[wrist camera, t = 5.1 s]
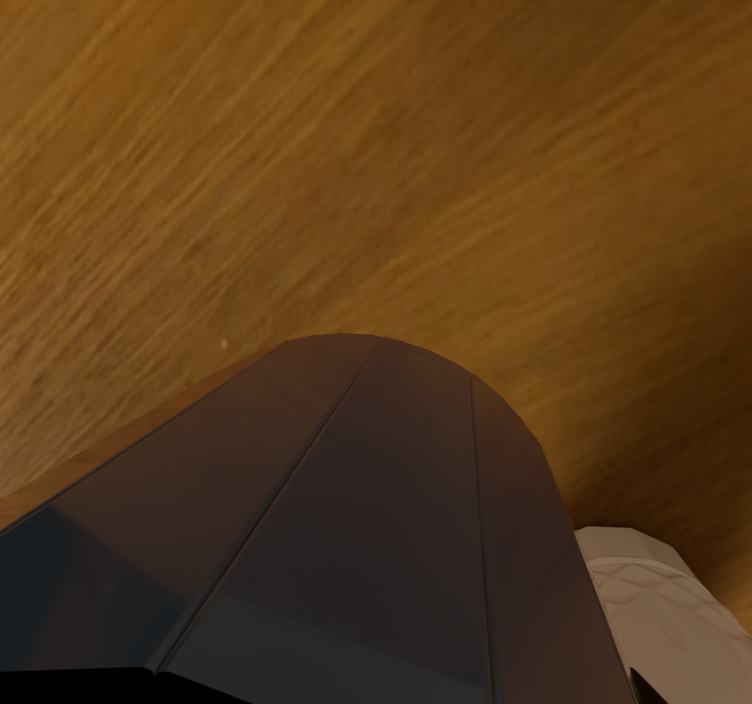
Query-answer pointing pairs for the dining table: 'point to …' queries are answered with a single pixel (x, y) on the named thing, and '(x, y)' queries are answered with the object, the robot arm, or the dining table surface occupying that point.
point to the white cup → (669, 619)
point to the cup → (307, 548)
